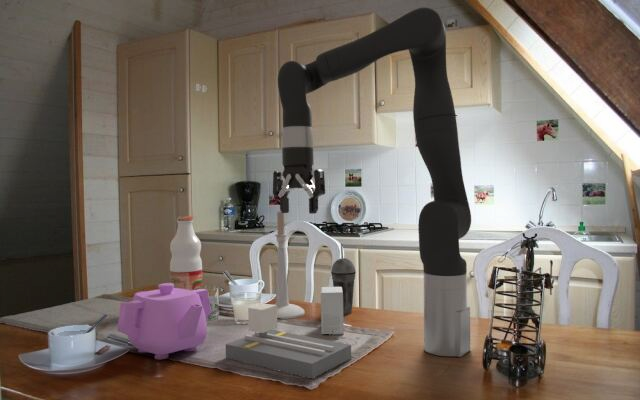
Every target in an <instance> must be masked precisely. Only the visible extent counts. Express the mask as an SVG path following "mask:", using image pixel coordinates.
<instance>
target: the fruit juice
mask: <svg viewBox="0 0 640 400" xmlns="http://www.w3.org/2000/svg"><path fill="white" fill-rule="evenodd" d="M176 223H177V229H176V232H175V236H173V238H172V240H171V241H170V244H169V246H170V247H169V250H170V254H171V259H170V262H169V279H170V282H169V283H172V284H174V288H180V289H186V290H190V291H192V290H194V288H195V287H196V286H203V261H202V257H201V250H202V242H201V240H200V239H199V237H198V236H197V235H196V233H195V230H194V226H193V224H194V216H190V215H189V216H187V215H185V216H177V217H176Z"/></svg>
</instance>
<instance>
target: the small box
mask: <svg viewBox="0 0 640 400" xmlns="http://www.w3.org/2000/svg"><path fill="white" fill-rule="evenodd" d="M344 322H345V321H344V314H343V290H342V287H333V286H322V287H320V325H321V326H320V327H321V329H320V330H321V335H322V334H329V335H330V336H331V334H332V335H344V334H345V333H344V332H345V330H344V329H345V328H344V325H345V324H344Z"/></svg>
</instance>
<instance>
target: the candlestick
mask: <svg viewBox="0 0 640 400" xmlns="http://www.w3.org/2000/svg"><path fill="white" fill-rule="evenodd" d="M276 213H277V214H276V215H277V217H276V219H277V220H276V221H277V222H276V223H277V227H276V229H277V234H274V236H275V237H276V241H277V243H278V246H277V259H276V260H277V263H276V290H275V291H276V296H275V303H274V304H272V305H277V318H284V319H283V320H290V319H297V318H300V317H303V316H304V315H305V312H306V311H305V309H304V308H302V307H301V306H299V305H298V304H293V303H290V302H289V292H288V277H287V275H288V274H287V263H286V250H285V249H286V246H285V242H286V240H287V239H286V237H287V236H288V234H287V233H286V234H285V213H282V212H281V210H279V211H277V212H276ZM285 318H286V319H285Z"/></svg>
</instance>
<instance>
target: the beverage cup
mask: <svg viewBox="0 0 640 400" xmlns="http://www.w3.org/2000/svg"><path fill="white" fill-rule="evenodd" d="M343 251H344V249H343V243H340V255H341V258H339V259H337V260H335V261H334V263H333V264H332V266H331V271H330V273H331V279H332V287H342V290H343V315H348V314H351V313H352V311H353V303H354V302H353V300H354V290H355V288H354V287H355V279H356V273H357V270H356V266H355V265H354V263H353V262H352V261H351V259H349V258H344V252H343Z"/></svg>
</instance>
